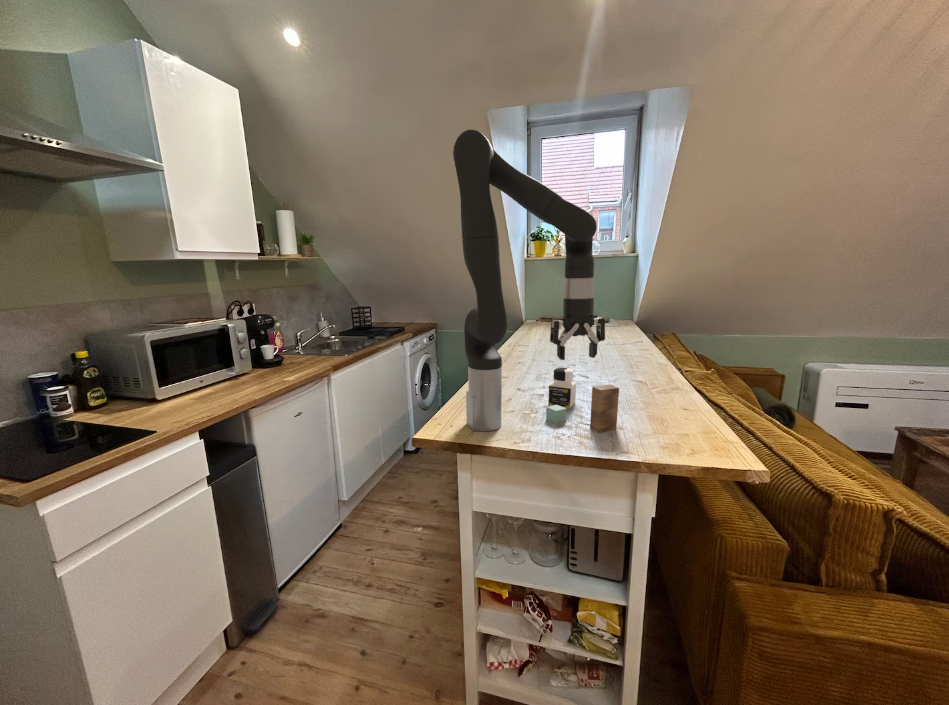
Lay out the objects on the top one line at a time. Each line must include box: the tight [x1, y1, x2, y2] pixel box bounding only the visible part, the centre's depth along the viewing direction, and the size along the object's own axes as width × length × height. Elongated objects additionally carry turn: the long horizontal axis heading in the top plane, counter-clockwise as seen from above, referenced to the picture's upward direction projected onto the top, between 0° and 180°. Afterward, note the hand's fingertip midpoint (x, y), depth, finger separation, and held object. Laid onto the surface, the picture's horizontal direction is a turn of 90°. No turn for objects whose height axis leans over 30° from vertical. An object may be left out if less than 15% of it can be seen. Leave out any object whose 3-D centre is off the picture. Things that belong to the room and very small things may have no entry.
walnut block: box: [589, 384, 620, 433], centre depth 110 cm, size 6×4×12 cm, turn 108°
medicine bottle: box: [548, 367, 577, 410], centre depth 130 cm, size 7×7×12 cm
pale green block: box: [545, 405, 567, 425], centre depth 117 cm, size 4×4×4 cm
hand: (577, 358), depth 105 cm, fingers open, 8 cm apart
